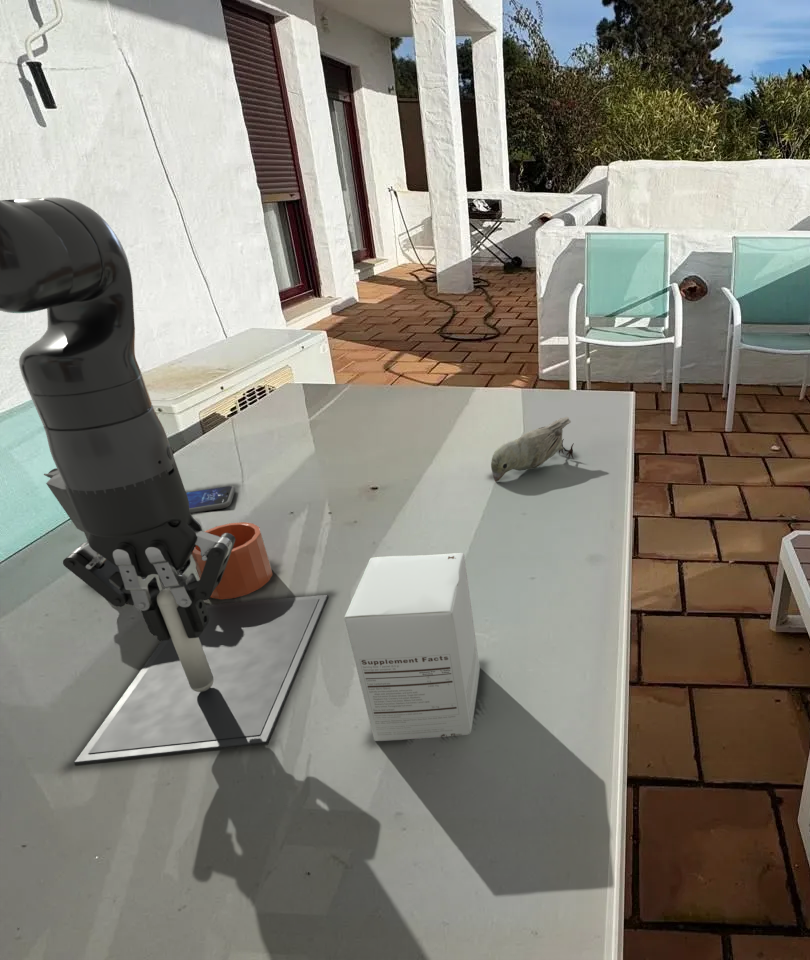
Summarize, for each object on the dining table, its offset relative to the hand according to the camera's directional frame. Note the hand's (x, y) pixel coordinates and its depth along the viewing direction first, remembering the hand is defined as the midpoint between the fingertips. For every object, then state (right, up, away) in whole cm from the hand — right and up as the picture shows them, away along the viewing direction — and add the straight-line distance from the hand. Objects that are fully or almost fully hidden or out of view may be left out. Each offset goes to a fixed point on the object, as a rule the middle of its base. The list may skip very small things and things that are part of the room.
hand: (183, 633), depth 59 cm
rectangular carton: (+23, -8, +2) cm, 24 cm away
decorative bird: (+27, +16, +51) cm, 60 cm away
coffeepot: (-20, +2, +23) cm, 30 cm away
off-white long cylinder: (0, -6, +3) cm, 7 cm away
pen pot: (-6, +1, +21) cm, 22 cm away
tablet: (0, -6, +7) cm, 9 cm away
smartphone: (-26, +10, +39) cm, 48 cm away
